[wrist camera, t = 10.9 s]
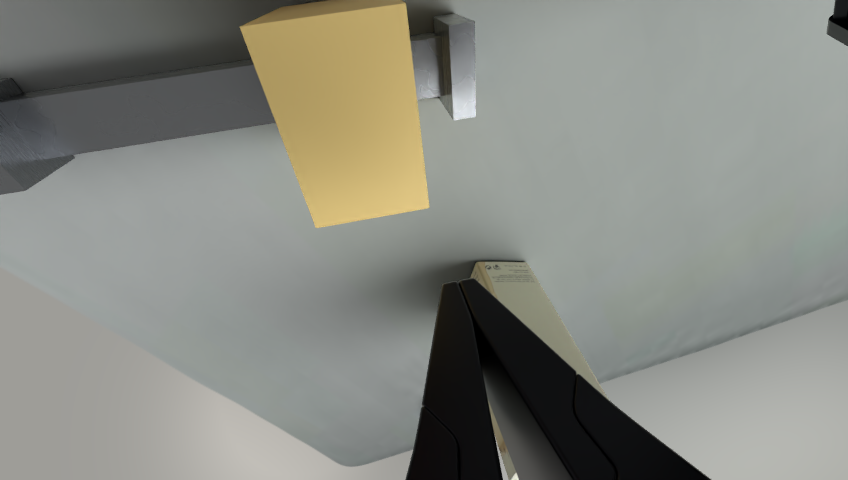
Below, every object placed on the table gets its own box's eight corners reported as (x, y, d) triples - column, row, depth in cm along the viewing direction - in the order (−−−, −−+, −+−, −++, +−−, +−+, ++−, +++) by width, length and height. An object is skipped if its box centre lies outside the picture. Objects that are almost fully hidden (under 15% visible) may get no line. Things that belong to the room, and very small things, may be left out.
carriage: (384, -10, 14) (405, 3, 8) (404, 130, 18) (429, 208, 12) (287, 3, 14) (239, 26, 8) (329, 143, 18) (315, 228, 12)
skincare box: (474, 258, 25) (548, 434, 16) (530, 260, 26) (630, 425, 17) (455, 316, 29) (505, 485, 19) (504, 315, 30) (574, 476, 20)
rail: (455, 13, 15) (474, 21, 13) (458, 96, 18) (475, 116, 15) (-15, 81, 14) (-93, 105, 12) (53, 161, 17) (-1, 194, 14)
